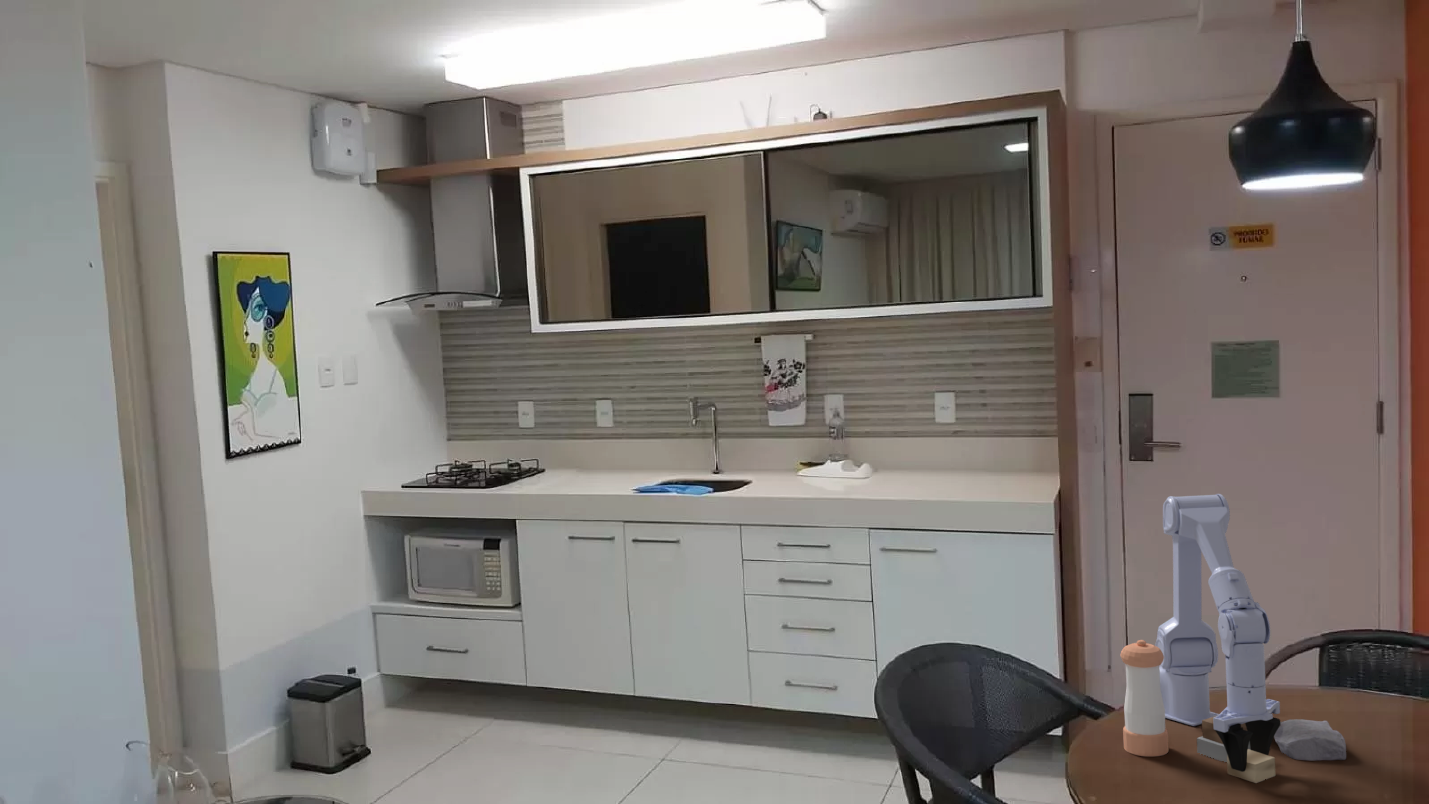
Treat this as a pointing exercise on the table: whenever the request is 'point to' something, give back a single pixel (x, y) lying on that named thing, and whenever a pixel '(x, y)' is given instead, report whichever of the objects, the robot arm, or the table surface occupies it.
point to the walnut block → (1210, 732)
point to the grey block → (1212, 749)
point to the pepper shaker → (1144, 701)
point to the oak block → (1255, 767)
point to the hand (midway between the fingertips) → (1249, 765)
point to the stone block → (1310, 740)
